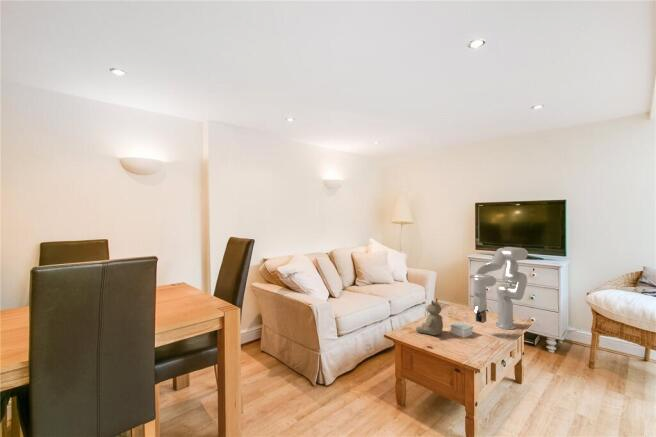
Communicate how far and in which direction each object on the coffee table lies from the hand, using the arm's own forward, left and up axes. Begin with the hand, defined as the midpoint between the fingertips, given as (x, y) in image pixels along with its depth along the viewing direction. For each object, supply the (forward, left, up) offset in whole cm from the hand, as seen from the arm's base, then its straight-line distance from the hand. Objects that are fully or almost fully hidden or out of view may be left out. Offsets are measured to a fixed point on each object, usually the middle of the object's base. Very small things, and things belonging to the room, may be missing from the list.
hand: (481, 319), depth 209 cm
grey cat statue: (+25, -24, -11) cm, 37 cm away
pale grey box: (+9, -9, -11) cm, 17 cm away
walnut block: (0, 0, -1) cm, 1 cm away
